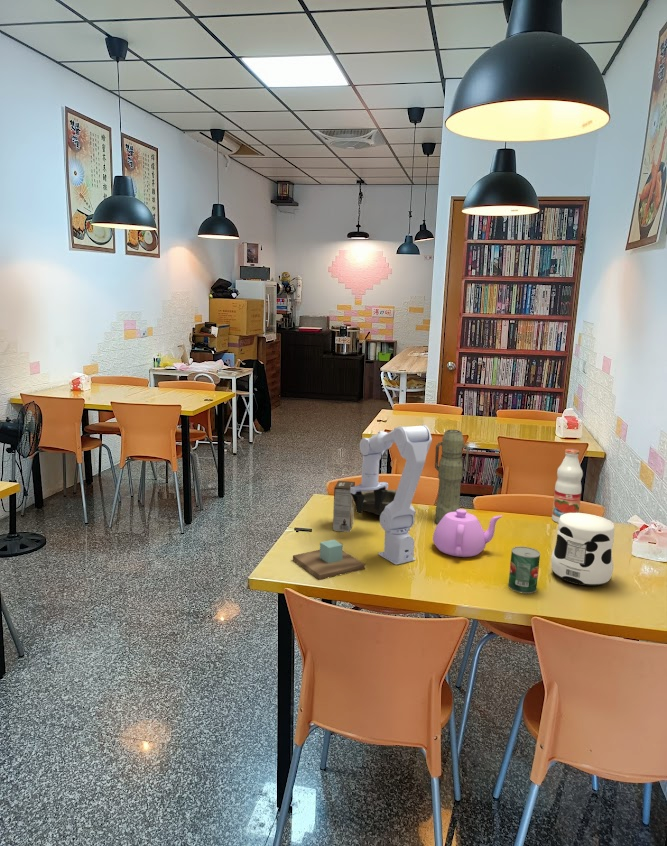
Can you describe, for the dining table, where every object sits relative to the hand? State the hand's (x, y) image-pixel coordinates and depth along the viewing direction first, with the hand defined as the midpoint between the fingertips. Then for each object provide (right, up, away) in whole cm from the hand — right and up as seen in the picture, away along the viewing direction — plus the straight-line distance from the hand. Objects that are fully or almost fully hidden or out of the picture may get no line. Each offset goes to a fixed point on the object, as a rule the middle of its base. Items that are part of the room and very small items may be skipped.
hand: (368, 511), depth 211 cm
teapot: (+32, -12, -7) cm, 35 cm away
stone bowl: (+6, -5, +28) cm, 29 cm away
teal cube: (-13, -12, -21) cm, 27 cm away
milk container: (+62, -17, -25) cm, 69 cm away
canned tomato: (+43, -18, -33) cm, 56 cm away
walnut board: (-14, -13, -22) cm, 29 cm away
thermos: (+30, -7, +19) cm, 36 cm away
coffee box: (-8, -8, +11) cm, 15 cm away
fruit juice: (+77, -8, +26) cm, 81 cm away
